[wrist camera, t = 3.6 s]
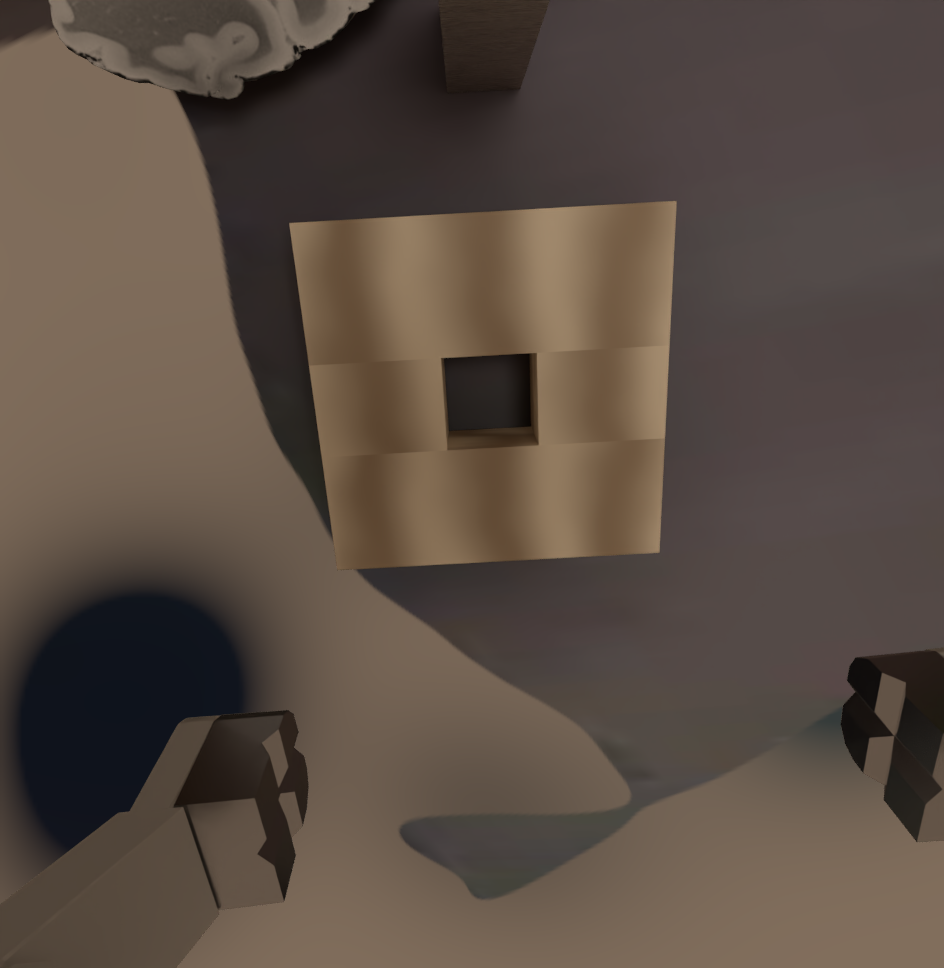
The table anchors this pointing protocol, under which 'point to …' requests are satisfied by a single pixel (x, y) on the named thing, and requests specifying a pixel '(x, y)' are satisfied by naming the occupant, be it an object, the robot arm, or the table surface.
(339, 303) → the socket block
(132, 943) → the robot arm
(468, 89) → the square bit
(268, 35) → the brain slice
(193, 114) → the table surface
